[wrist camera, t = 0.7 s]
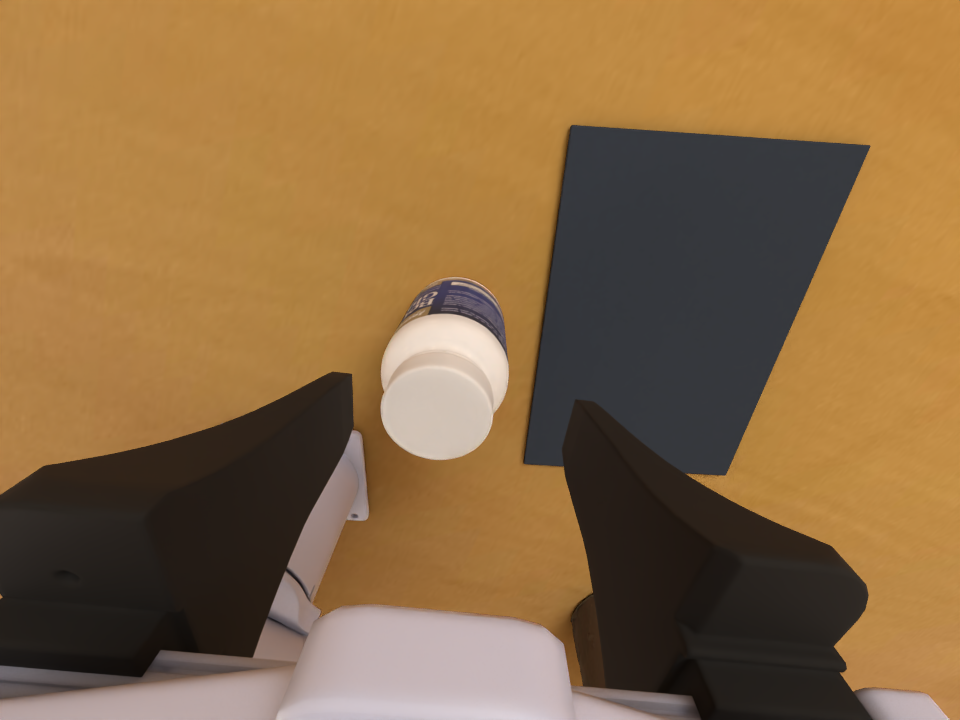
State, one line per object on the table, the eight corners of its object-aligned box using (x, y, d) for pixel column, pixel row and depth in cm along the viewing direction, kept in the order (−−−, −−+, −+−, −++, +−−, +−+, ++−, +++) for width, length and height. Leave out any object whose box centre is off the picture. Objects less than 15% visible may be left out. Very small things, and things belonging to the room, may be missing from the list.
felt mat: (523, 461, 26) (524, 464, 26) (570, 125, 18) (571, 124, 18) (723, 472, 27) (725, 475, 26) (865, 145, 18) (871, 145, 18)
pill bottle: (431, 257, 21) (390, 318, 12) (519, 300, 21) (543, 386, 13) (396, 340, 23) (339, 444, 14) (478, 376, 24) (473, 494, 15)
